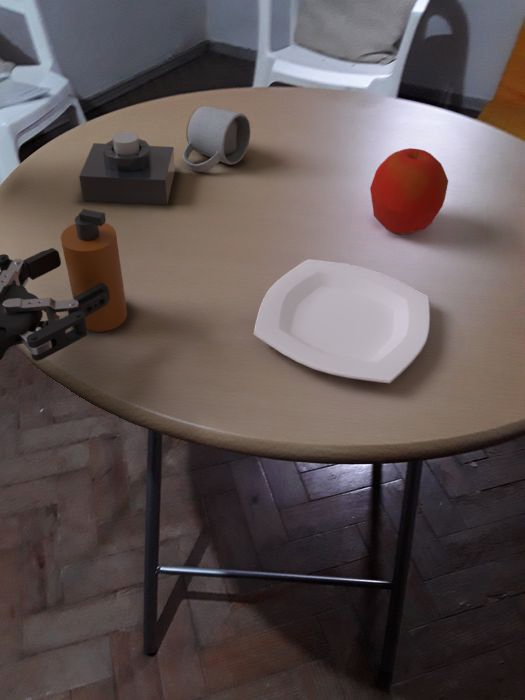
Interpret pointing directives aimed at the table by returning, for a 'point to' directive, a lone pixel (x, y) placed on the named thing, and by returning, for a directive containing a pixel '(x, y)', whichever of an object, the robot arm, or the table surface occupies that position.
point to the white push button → (126, 143)
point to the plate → (345, 320)
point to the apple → (408, 191)
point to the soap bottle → (95, 266)
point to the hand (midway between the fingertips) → (81, 272)
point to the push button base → (128, 175)
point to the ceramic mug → (216, 137)
